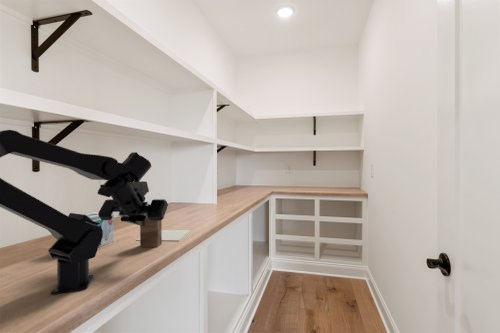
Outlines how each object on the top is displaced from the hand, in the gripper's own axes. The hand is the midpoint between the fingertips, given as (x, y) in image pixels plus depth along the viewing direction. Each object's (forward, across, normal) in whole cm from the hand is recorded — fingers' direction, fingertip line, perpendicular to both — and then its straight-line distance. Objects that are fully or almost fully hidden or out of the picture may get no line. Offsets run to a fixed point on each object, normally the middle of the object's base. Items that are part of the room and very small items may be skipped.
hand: (143, 224), depth 78 cm
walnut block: (+9, 0, +2) cm, 10 cm away
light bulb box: (+9, +20, +3) cm, 22 cm away
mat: (+18, 0, -6) cm, 19 cm away
